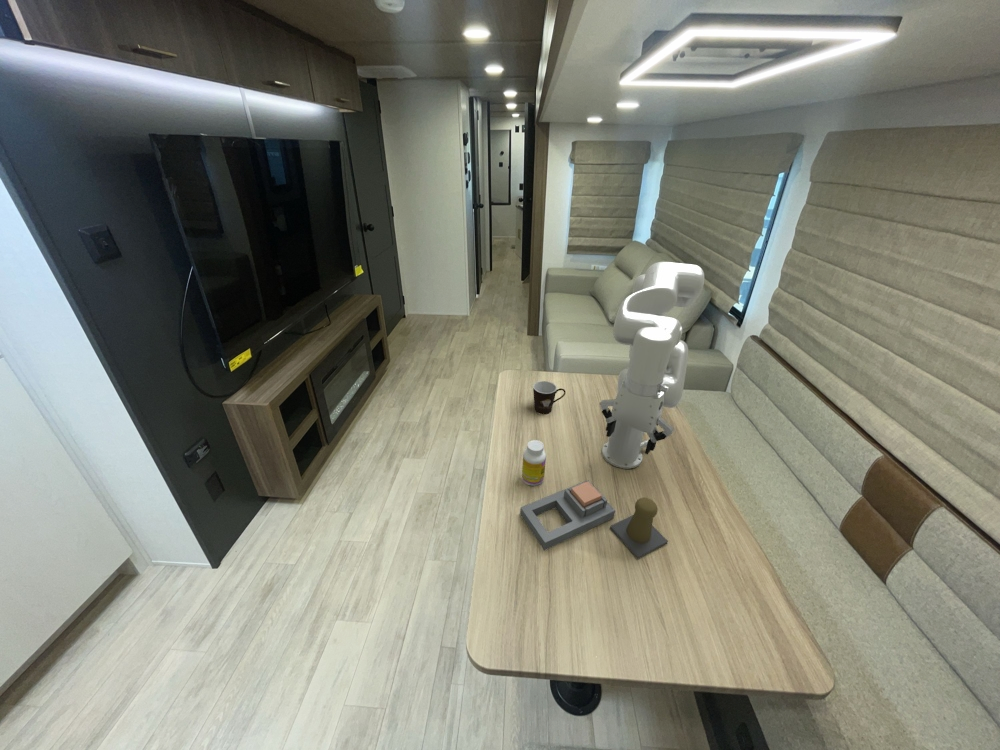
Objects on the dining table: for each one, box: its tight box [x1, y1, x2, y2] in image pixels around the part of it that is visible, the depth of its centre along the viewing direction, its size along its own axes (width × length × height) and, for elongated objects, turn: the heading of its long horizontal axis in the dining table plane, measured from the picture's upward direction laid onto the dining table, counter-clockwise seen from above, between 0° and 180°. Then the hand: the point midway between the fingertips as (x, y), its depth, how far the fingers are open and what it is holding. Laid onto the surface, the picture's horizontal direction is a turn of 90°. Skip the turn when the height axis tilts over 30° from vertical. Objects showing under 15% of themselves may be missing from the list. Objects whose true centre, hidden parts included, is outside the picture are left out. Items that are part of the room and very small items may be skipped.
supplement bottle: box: [521, 439, 547, 487], centre depth 114 cm, size 7×7×13 cm
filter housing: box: [519, 480, 616, 551], centre depth 104 cm, size 22×12×6 cm, turn 117°
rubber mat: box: [609, 514, 669, 560], centre depth 101 cm, size 10×10×1 cm
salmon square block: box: [571, 480, 603, 509], centre depth 105 cm, size 6×6×3 cm
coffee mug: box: [532, 380, 566, 415], centre depth 145 cm, size 12×9×10 cm
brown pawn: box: [626, 497, 659, 543], centre depth 98 cm, size 6×6×11 cm
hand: (628, 442), depth 95 cm, fingers open, 9 cm apart
